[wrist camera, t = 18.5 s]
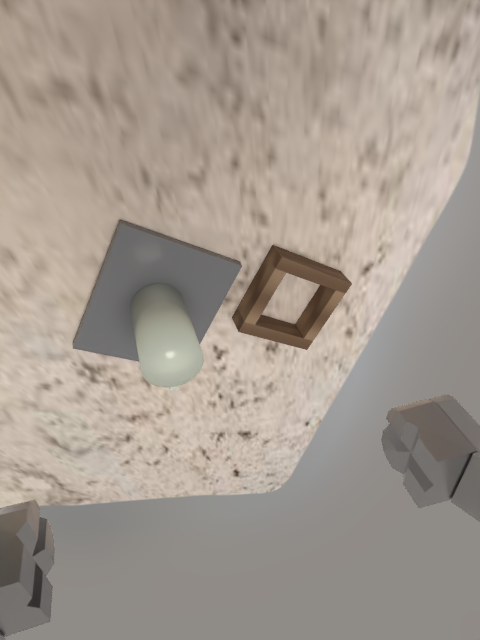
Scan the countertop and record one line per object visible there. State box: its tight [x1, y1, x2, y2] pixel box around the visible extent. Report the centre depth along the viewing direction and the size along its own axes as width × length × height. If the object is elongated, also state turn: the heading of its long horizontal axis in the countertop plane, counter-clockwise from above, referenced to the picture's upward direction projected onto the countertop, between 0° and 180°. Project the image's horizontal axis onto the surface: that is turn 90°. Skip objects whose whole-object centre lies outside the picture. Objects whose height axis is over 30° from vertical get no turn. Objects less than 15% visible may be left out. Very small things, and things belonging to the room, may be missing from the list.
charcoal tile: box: [73, 220, 242, 361], centre depth 50 cm, size 16×14×1 cm
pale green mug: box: [130, 284, 204, 391], centre depth 46 cm, size 8×6×10 cm
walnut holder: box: [232, 245, 352, 350], centre depth 54 cm, size 10×10×3 cm
